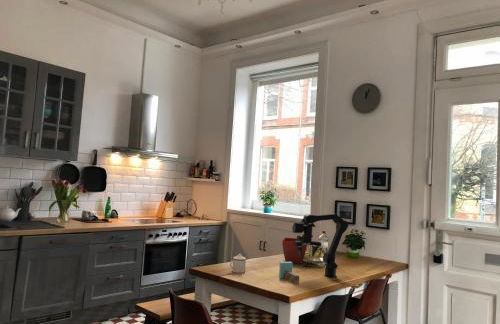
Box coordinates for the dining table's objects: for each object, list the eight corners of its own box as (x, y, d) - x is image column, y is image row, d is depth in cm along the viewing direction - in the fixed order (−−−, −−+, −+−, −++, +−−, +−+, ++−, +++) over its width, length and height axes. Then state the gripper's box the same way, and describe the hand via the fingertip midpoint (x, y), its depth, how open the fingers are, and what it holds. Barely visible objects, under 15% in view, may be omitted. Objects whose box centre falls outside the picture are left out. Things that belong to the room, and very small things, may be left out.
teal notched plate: (290, 277, 263) (290, 261, 263) (291, 278, 260) (292, 262, 261) (279, 277, 260) (279, 262, 260) (280, 278, 257) (281, 262, 258)
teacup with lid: (240, 269, 277) (241, 252, 277) (248, 272, 270) (249, 254, 270) (225, 270, 270) (226, 253, 270) (233, 273, 262) (234, 256, 263)
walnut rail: (281, 276, 263) (281, 268, 263) (284, 276, 264) (284, 268, 264) (295, 284, 245) (295, 276, 245) (298, 284, 245) (299, 276, 246)
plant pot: (305, 264, 306) (306, 242, 307) (280, 262, 310) (282, 240, 311) (307, 260, 325) (308, 239, 325) (283, 258, 329) (284, 237, 329)
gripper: (313, 231, 280) (312, 254, 279) (289, 231, 273) (288, 254, 273) (322, 234, 270) (321, 257, 269) (297, 233, 263) (296, 257, 262)
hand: (306, 256), depth 268 cm, fingers open, 9 cm apart
